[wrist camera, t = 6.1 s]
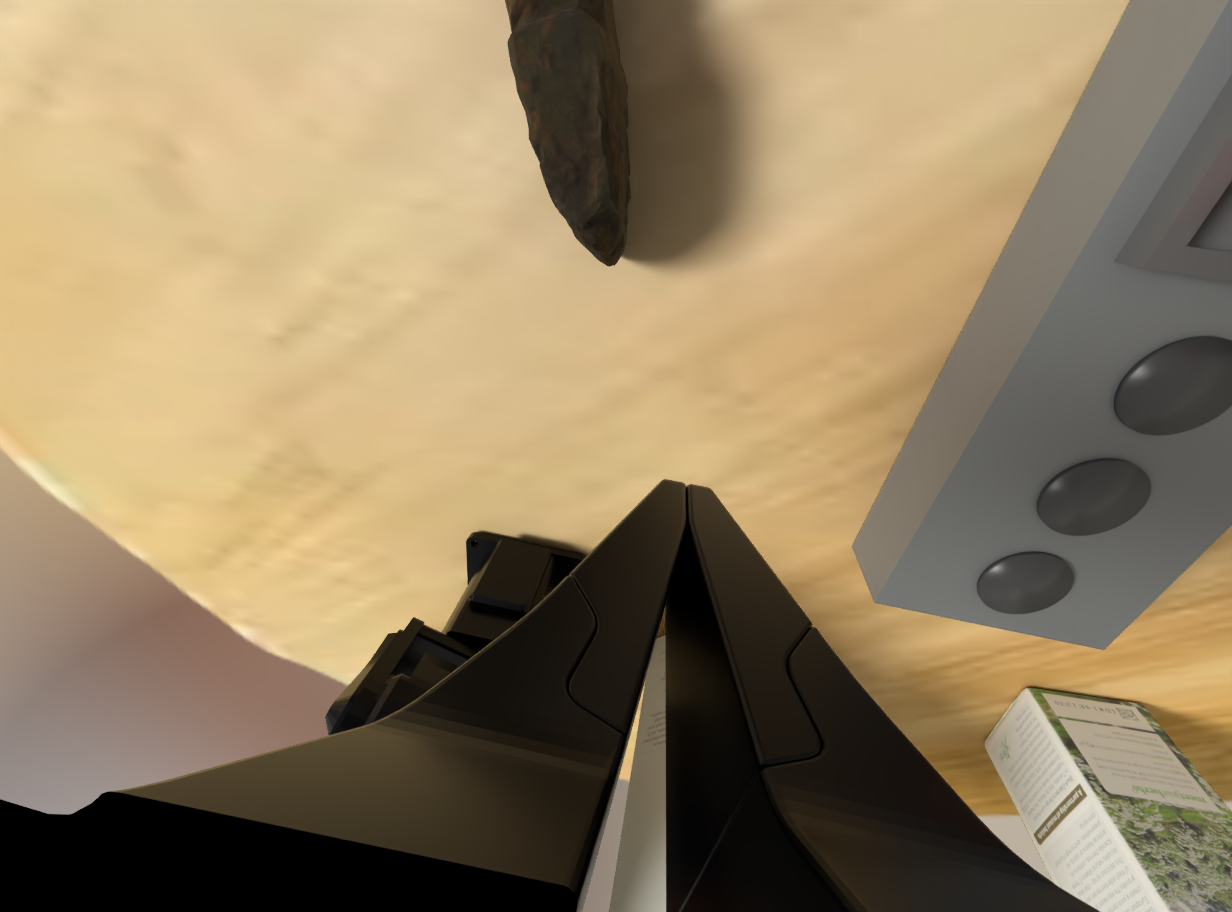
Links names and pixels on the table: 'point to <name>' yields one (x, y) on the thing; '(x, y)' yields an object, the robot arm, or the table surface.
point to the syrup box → (1113, 804)
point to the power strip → (1086, 366)
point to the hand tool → (576, 113)
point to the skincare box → (646, 804)
